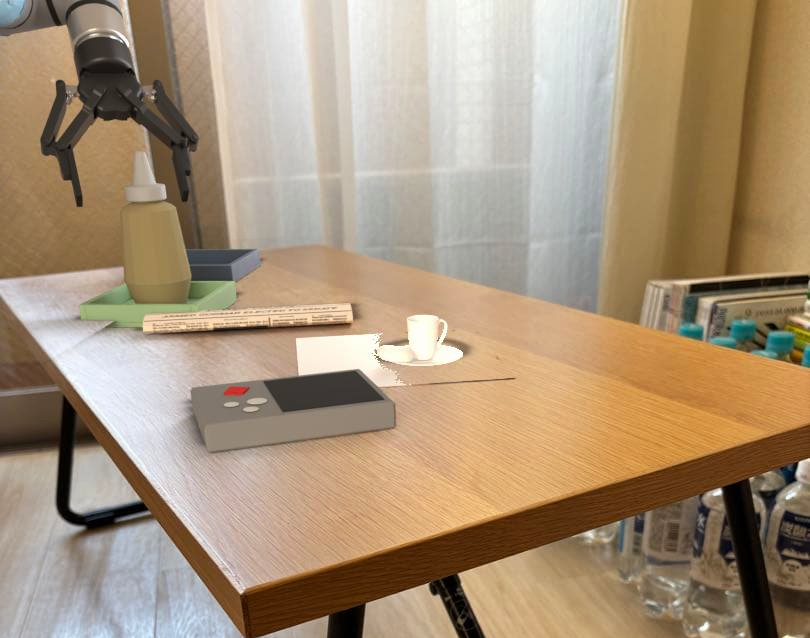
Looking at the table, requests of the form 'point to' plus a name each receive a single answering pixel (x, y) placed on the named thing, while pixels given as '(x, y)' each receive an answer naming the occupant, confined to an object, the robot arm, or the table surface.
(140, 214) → the squeeze bottle
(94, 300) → the green tray
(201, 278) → the blue tray
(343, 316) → the newspaper
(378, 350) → the teacup and saucer
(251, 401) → the electronic device
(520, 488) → the table surface
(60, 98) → the robot arm
